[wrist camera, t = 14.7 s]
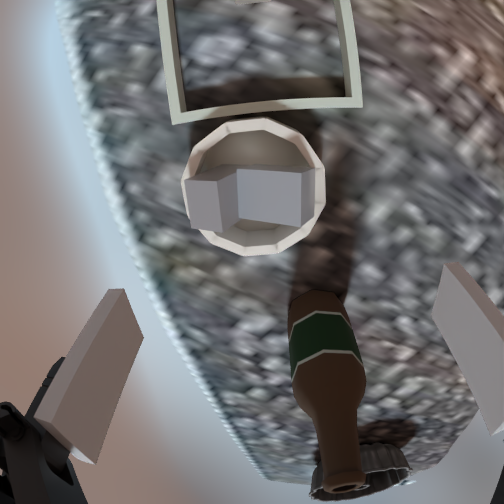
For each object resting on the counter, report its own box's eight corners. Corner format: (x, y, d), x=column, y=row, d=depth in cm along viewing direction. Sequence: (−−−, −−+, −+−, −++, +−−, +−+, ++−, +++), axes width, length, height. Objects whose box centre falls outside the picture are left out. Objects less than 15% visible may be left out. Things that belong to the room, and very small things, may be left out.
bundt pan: (420, 442, 61) (428, 471, 53) (346, 477, 72) (349, 504, 63) (371, 424, 54) (379, 462, 45) (285, 464, 64) (286, 497, 56)
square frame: (161, -26, 20) (154, -34, 18) (333, -44, 19) (338, -52, 17) (178, 122, 29) (172, 124, 27) (355, 106, 27) (362, 107, 25)
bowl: (184, 126, 29) (171, 131, 25) (312, 112, 28) (321, 114, 24) (204, 240, 35) (196, 260, 31) (319, 230, 34) (326, 249, 30)
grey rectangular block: (222, 164, 30) (183, 180, 25) (252, 164, 28) (216, 181, 24) (226, 205, 32) (191, 228, 27) (255, 208, 31) (222, 232, 26)
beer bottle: (292, 337, 42) (303, 505, 20) (280, 294, 38) (289, 484, 17) (346, 325, 40) (387, 488, 19) (341, 280, 37) (396, 463, 16)
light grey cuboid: (236, 169, 26) (301, 173, 23) (255, 163, 29) (315, 167, 26) (238, 217, 28) (300, 227, 25) (257, 208, 31) (314, 216, 28)
